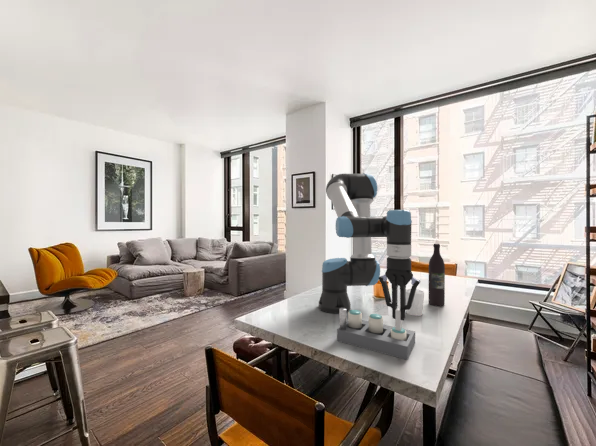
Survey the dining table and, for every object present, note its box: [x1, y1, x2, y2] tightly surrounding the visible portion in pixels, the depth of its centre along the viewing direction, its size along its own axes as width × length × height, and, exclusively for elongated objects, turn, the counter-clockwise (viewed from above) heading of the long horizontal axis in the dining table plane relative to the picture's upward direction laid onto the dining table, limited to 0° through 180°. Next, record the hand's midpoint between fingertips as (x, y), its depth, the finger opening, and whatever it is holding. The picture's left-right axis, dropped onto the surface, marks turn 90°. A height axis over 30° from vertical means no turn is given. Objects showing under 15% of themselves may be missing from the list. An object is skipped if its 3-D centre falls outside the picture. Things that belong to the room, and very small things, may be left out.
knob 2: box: [391, 326, 406, 341], centre depth 87 cm, size 5×5×5 cm
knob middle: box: [368, 313, 384, 333], centre depth 91 cm, size 5×5×5 cm
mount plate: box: [336, 319, 416, 361], centre depth 91 cm, size 23×13×4 cm, turn 57°
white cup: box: [405, 288, 425, 317], centre depth 119 cm, size 8×8×10 cm
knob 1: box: [347, 309, 363, 328], centre depth 95 cm, size 5×5×5 cm
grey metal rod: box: [338, 308, 347, 330], centre depth 92 cm, size 2×2×7 cm
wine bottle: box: [428, 243, 446, 308], centre depth 131 cm, size 7×7×30 cm
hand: (398, 328), depth 87 cm, fingers closed
